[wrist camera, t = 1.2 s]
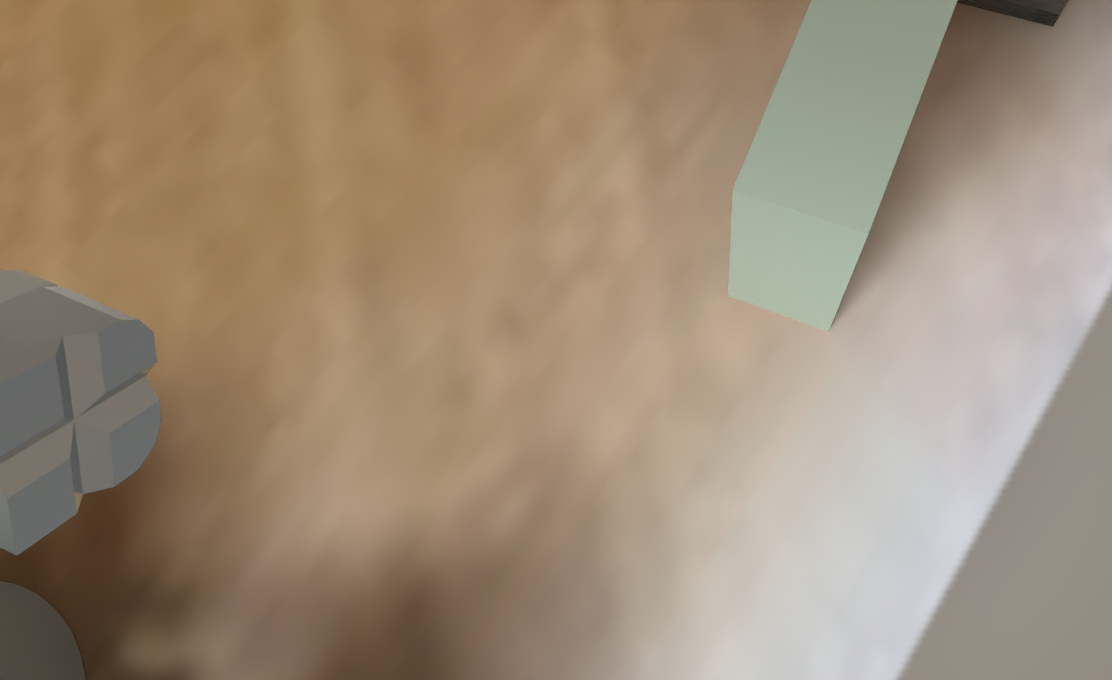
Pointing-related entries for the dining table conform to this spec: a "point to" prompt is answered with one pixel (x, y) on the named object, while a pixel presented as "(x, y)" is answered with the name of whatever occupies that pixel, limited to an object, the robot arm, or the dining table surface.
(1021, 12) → the grey rectangular tray
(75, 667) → the coffee mug
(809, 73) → the sage green slab
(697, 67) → the dining table surface
